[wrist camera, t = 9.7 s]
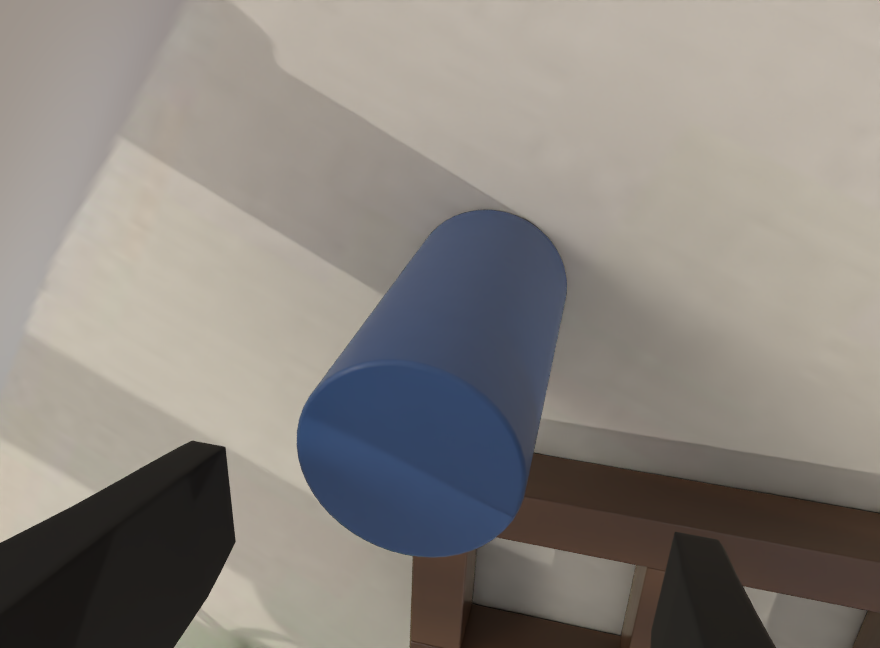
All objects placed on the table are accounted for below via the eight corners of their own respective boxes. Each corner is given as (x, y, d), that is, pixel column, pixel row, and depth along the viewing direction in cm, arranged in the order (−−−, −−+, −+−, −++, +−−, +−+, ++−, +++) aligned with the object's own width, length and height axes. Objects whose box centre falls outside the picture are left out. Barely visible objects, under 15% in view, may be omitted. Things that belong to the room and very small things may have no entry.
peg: (558, 361, 20) (514, 579, 13) (413, 339, 21) (299, 534, 14) (576, 218, 18) (538, 383, 11) (417, 200, 19) (289, 344, 12)
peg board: (1116, 782, 22) (1158, 854, 20) (423, 626, 26) (408, 676, 24) (1266, 579, 18) (1333, 646, 16) (432, 434, 22) (414, 475, 20)
